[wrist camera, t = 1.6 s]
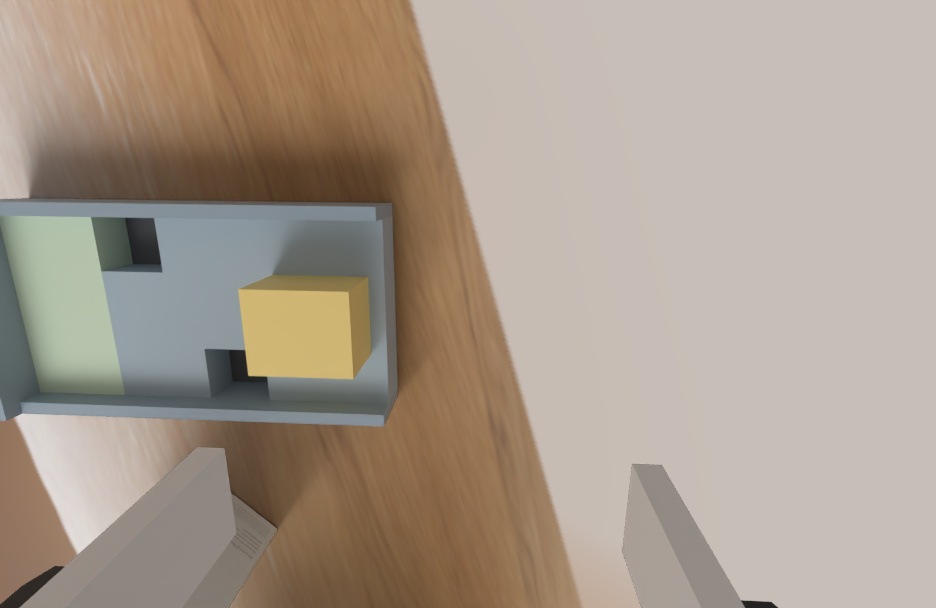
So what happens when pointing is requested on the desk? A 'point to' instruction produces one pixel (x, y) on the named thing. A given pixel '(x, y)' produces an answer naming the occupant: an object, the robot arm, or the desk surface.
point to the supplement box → (234, 559)
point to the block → (306, 326)
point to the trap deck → (180, 307)
